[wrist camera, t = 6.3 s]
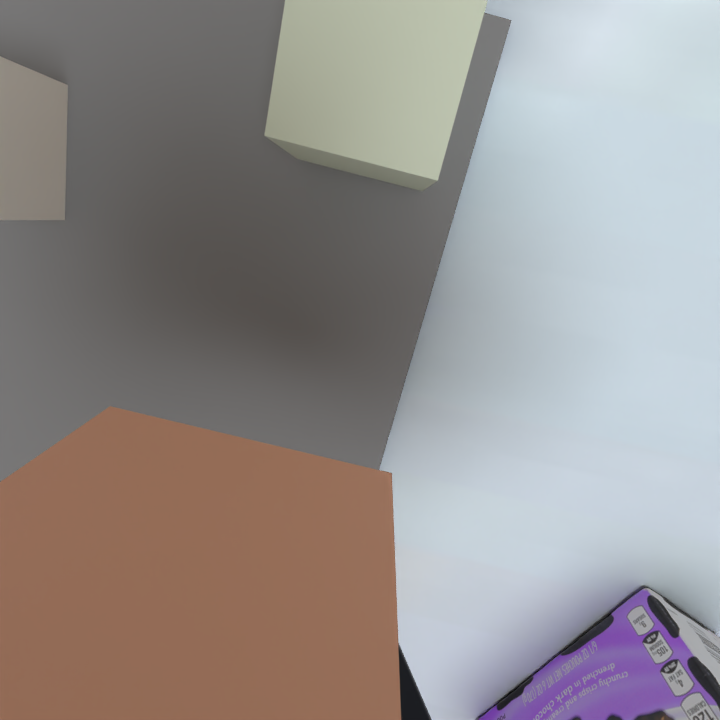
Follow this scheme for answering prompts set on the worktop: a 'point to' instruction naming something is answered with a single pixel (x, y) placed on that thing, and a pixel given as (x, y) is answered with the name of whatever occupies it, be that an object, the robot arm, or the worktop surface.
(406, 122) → the sage block
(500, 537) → the worktop surface
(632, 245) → the worktop surface
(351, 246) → the slate mat
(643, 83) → the worktop surface
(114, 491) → the terracotta block
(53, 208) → the taupe block
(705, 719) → the candy box
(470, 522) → the worktop surface
